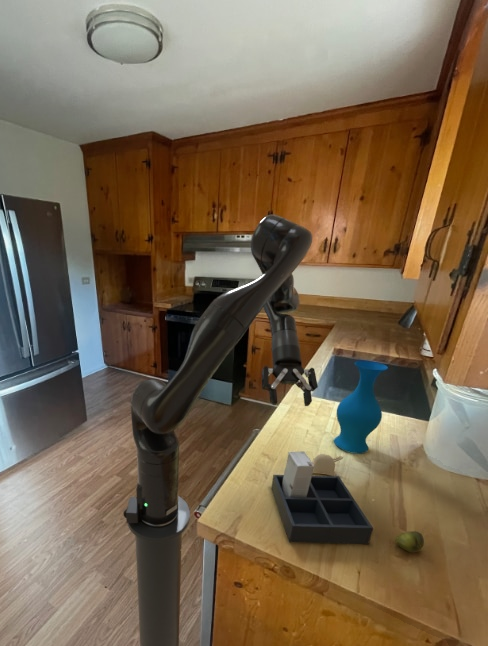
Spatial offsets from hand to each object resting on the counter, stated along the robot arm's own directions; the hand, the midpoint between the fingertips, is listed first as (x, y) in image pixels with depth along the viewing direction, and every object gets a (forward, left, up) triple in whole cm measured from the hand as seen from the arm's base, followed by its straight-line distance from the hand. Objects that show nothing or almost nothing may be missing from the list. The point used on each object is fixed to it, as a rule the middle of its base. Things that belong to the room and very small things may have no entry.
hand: (291, 404), depth 86 cm
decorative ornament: (+13, 0, -21) cm, 25 cm away
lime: (+21, -26, -21) cm, 39 cm away
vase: (+27, +14, -21) cm, 37 cm away
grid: (+4, -16, -21) cm, 27 cm away
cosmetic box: (0, -12, -21) cm, 24 cm away
